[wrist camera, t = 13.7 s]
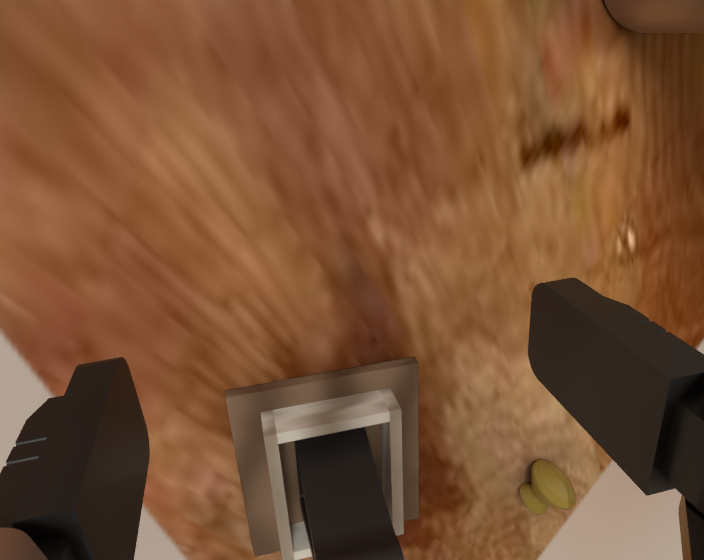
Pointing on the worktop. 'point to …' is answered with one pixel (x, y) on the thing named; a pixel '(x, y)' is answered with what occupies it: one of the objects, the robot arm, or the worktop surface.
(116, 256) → the worktop surface
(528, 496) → the knob
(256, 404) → the collar stand
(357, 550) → the phone stand
